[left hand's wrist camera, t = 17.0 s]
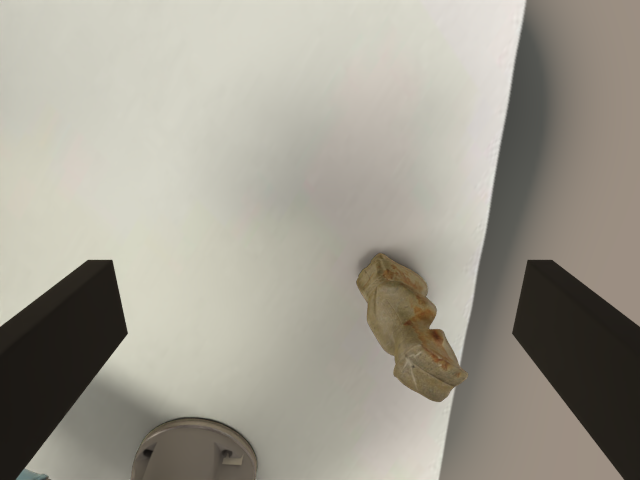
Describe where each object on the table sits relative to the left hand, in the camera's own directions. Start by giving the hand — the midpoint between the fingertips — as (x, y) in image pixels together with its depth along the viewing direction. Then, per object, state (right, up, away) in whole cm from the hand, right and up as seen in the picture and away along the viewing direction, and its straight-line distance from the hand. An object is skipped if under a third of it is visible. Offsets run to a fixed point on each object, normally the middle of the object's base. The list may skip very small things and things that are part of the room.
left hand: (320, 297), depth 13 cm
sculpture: (+7, -2, +29) cm, 30 cm away
